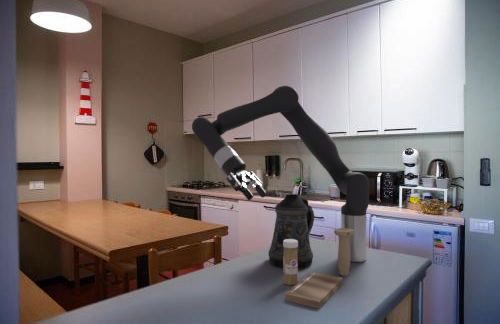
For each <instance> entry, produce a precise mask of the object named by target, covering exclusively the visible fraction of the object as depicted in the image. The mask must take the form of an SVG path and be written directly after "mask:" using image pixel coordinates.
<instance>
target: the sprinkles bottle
mask: <svg viewBox="0 0 500 324" xmlns="http://www.w3.org/2000/svg"><path fill="white" fill-rule="evenodd" d="M283 246H284V256H283V269H282V270H283V280H282V281H283V284H285V285H287V286H295V285H296V284H298V283H299V282H298V273H299V272H298V271H299V269H298V262H297V247H298V241H297V240H295V239H285V240H284V241H283Z"/></svg>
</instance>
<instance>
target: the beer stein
mask: <svg viewBox="0 0 500 324" xmlns="http://www.w3.org/2000/svg"><path fill="white" fill-rule="evenodd" d="M274 209H275V210H274V211H275V213H276V214H275V215H276V218H275V222H274V228H273V236H272V240H271V244H270V248H269V249H268V259H269V263H270V265H272V266H273V267H274V268H275V267H276V268H279V269H281V270H283V256H284V246H283V241H284V240H285V239H295V240H297V241H298V247H297V262H298V270H299V269H306V268H308V267H311V266H312V263H313V258H314V254H313V251H312V248H311V243H310V233H311V232H312V229H313V226H314V221H315V212H314V210H313V207H312V206H311V205H309V201H308V199H306V198H303V197H300V196H299V194H286V195H285V197H284V198H283V199H282V200H281V201H280V202H278V203H277V204H276V205H275V206H274Z"/></svg>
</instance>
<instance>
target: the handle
mask: <svg viewBox="0 0 500 324" xmlns="http://www.w3.org/2000/svg"><path fill="white" fill-rule="evenodd" d="M333 233H334V235H336V236H338V248H337V249H338V251H337V266H338V273H339V275H340V276H344V277H347V276H348V275H350V268H351V261H350V246H349V237H350V236H351V235H353V234H354V230H353V229H350V228H341V227H339V228H335V229H334V230H333Z"/></svg>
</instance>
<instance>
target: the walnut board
mask: <svg viewBox="0 0 500 324" xmlns="http://www.w3.org/2000/svg"><path fill="white" fill-rule="evenodd" d="M343 278H344V277H341V276H335V275H329V274H325V273H319V272H314V271H312V272H310V273H309V274H308V275H306V276H305V277H304V278H303V279H302V280H300V281H299V282H298V283H297V284H296V285H293V286H292V287H291V288H290V289H289V290H287V291H286V292H285V293H284V300H285V301H288V302H292V303H296V304H301V305H303V306H307V307H312V308H315V309H319V310H320V309H321V308H322V306H324V305H325V304H326V302H327V301H328V300H329V299H330V298H331V297H332V296H333V295H334V294H335V293H336V292H337V291H338V289H340V287H341V286H342V285H343V282H344V279H343Z"/></svg>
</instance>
